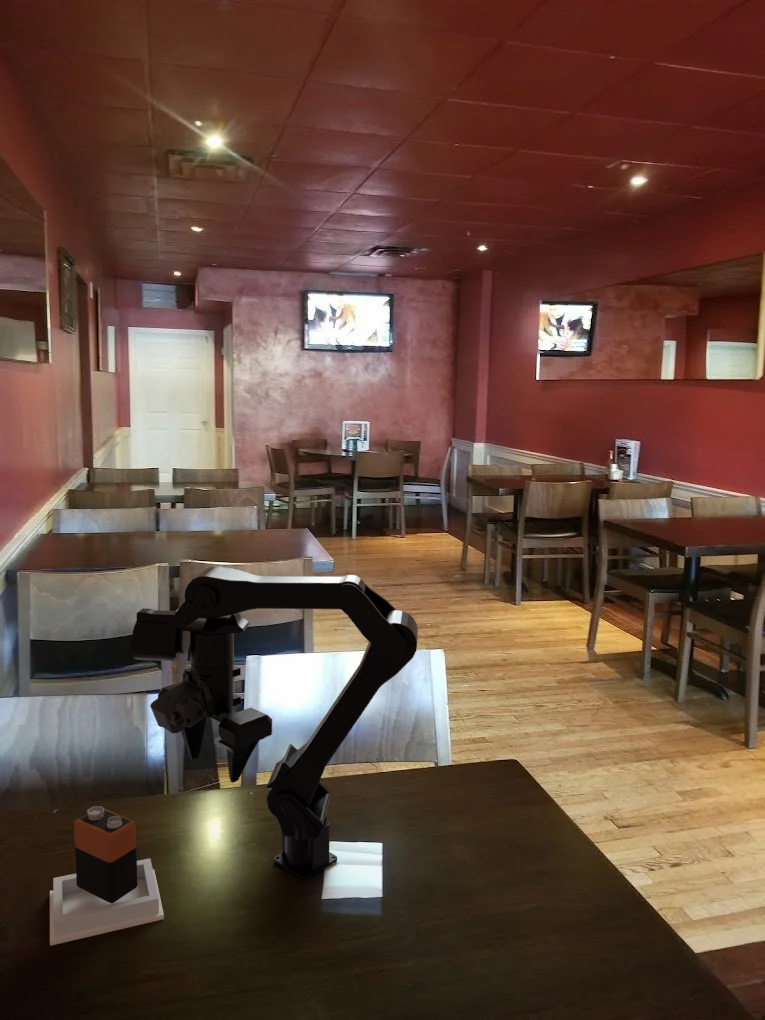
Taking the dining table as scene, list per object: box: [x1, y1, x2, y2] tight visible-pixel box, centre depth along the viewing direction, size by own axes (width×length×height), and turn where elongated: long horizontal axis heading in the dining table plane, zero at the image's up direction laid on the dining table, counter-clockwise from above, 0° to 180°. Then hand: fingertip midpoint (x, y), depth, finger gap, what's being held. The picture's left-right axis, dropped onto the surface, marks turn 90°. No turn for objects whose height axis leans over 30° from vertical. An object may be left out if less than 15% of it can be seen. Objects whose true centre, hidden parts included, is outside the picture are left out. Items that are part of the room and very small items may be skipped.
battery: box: [73, 805, 138, 903], centre depth 99 cm, size 4×7×10 cm, turn 59°
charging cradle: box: [49, 858, 165, 947], centre depth 100 cm, size 13×10×3 cm
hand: (213, 769), depth 109 cm, fingers open, 9 cm apart
